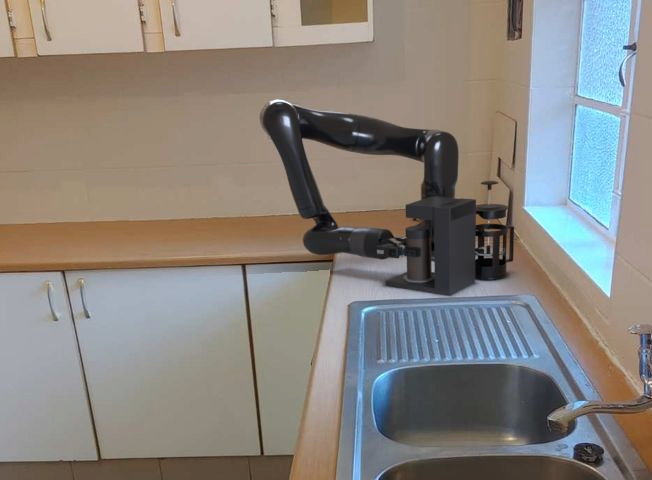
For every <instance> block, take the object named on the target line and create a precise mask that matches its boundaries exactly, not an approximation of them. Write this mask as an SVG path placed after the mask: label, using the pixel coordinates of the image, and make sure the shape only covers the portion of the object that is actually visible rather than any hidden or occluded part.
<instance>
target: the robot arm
mask: <svg viewBox="0 0 652 480" xmlns="http://www.w3.org/2000/svg"><path fill="white" fill-rule="evenodd" d="M259 124H260V126H261V128H262V130H263V132H265V134H266V135H267V136H269V138H270V140H271V141H272V144H273V145H274V147H275V148H276V151H277V152H278V154H279V157H280V160H281V162H282V165H283V167H284V170H285V175H286V178H287V182H288V187H289V189H290V192H291V195H292V198H293V201H294V204H295V206H296V210H297V212H298V215H299V216H300V217H301V219H303V220H312V221H314V224H315V225H313V226H312V227H310V228H308V229H307V230H306V231H305V232H304V234H303V237H302V245H303V246H304V248H305V249H306V251H308V252H309V253H310V254H314V255H315V256H316V255H317V256H328V255H337V254H347V255H352V256H353V255H354V256H358V257H361V258H367V259H375V260H383V261H384V260H387V259H391V258H392V259H400V257H402V258H405V257H407V256H410V257H420V256H421V249H420V248H417V247H409V246H407V247H406V236H401V235H399V236H398V235H397V236H394V234H393V232H392V231H391V230H389V229H387V228H378V227H367V226H362V227H359V226H348V225H345V226H341V227H339V224H338V223H337V221H336V220H335V217H334V216H333V215H332V213H331V212H330V211H329V209H328V207H327V206H326V205H325V203H324V200H323V197H322V194H321V191H320V189H319V185H318V184H317V181H316V178H315V175H314V173H313V170H312V167H311V165H310V162H309V159H308V156H307V153H306V150H305V146H304V142H303V140H309V141H314V142H317V143H321V144H322V145H326V146H329V147H331V148H333V149H334V148H335V149H338V150H342V151H345V152H350V153H354V154H355V153H356V154H360V155H361V154H362V155H369V156H398V157H403V158H407V159H411V160H414V161H418V162H420V163H423V180H422V182H421V183H420V200H422V199H426V198H429V197H441V198H456V186H457V183H458V181H459V180H458V179H459V158H460V156H459V153H460V152H459V144H458V141H457V139H456V137H455V136H454V135H453V134H452V133H450V132H448V131H444V130H440V129H426V128H425V129H424V128H411V127H405V126H400V125H398V124H394V123H392V122H389V121H386V120H383V119H380V118H375V117H372V116H366V115H361V114H358V113H357V114H356V113H347V112H340V111H325V110H317V109H316V110H315V109H311V108H307V107H303V106H299V105H296V104H293V103H290V102H288V101H286V100H283V99H273V100H270V101H268V102H267V103H266V104H264V106H263V107H262V108H261V110H260V113H259ZM412 220H413V221H417V219H414V218H412ZM419 221H421V222H420V223H417V224H415V225H414V226H418V225H423V226H430V227H431V228H432V236H431V261H432V260H433V261H435V259H434V220H425V219H419Z"/></svg>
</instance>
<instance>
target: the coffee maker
mask: <svg viewBox="0 0 652 480" xmlns="http://www.w3.org/2000/svg"><path fill="white" fill-rule="evenodd" d="M476 205H477V199H476V198H475V199H474V198H461V197H460V198H457V197H455V198H441V197H429V198H426V199H422V200H421V199H420V200H416V201H413V202H410V203H407V204H405V219H416V220H420V219H425V220H434V259H435V260H434V271H432V277H431V278H429V279H425V280H411V279H408V278H407V271H406V272H404V273H401V274H399V275H396V276H394V277H391V278H390V279H387V280H386V281H385V286H386V287H391V288H398V289H405V290H410V291H411V290H412V291H417V292H425V293H431V294H436V295H443V296H448V297H449V296H453V294H456V293H457V292H459V291H462V290H464V289H466V288H467V287H470V286H471V285H473V284H475V283H476V279H475V259H476V255H475V248H476V247H477V246H476V245H477V244H476V242H477V240H476V239H477V238H476V237H477V236H476V231H477V230H476V225H477V215H476Z"/></svg>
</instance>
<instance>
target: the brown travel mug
mask: <svg viewBox="0 0 652 480" xmlns="http://www.w3.org/2000/svg"><path fill="white" fill-rule="evenodd" d="M431 236H432V228H431V227H430V226H423V225H418V226H415V225H410V226H407V227H405V237H406V247H407V246H409V247H417V248H420V249H421V256H420V257H410V256H406V272H407V278H408V279H411V280H425V279H429V278H431V277H432V272H433V271H432V270H433V269H432V268H433V267H432V265H433V264H432V260H431Z"/></svg>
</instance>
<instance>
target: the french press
mask: <svg viewBox="0 0 652 480" xmlns="http://www.w3.org/2000/svg"><path fill="white" fill-rule="evenodd" d="M499 183H500V182H499V181H496V180H485V181H481V182H480V184H481V185H483V186H487V191H488V203H484V204H483V203H481V204H476V216H479V217H480V218H481V219H482V220H487V223H479V224H476V237H477V246H476V248H475V256H477V258H475V280H477V281H497V280H502V279H505V278H506V277H507V276H508V272H507V266H508V265H507V263H512V262H514V253H515V252H514V250H515V249H514V247H515V226H514V225H511V224H508V225H506V224H502V223H491V221H490V220H501V219H504V218H506V217H507V210H508V209H509V206H508V205H507V204H499V203H491V191H492V189H493V188H492V187H493V185H494V186H495V185H498V184H499ZM508 229H509V250H508V251H509V252H508V258H507V241H508V235H507V234H508ZM485 230H486V231H485ZM501 237H502V247H501ZM485 238H487V245H485ZM490 238H492V245H491V244H490ZM500 256H502V257H501V258H500Z"/></svg>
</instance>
